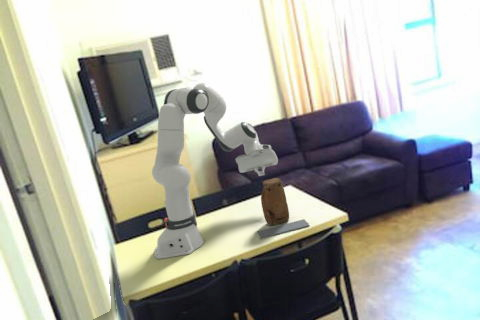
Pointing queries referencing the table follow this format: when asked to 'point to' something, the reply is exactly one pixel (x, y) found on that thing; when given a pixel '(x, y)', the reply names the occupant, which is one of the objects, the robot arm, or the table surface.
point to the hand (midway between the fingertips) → (261, 174)
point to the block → (274, 202)
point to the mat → (282, 228)
